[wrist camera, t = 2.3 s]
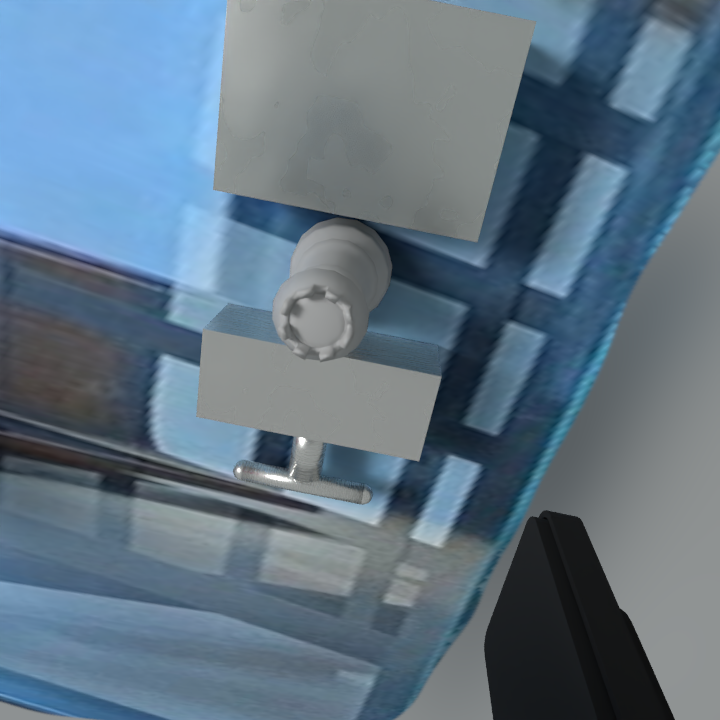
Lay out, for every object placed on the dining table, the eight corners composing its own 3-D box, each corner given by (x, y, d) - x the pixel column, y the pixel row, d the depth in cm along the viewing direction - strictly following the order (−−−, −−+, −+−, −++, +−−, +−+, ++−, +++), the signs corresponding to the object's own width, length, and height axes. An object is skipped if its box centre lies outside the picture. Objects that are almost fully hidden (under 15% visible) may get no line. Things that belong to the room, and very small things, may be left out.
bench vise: (257, -15, 21) (230, -40, 18) (517, 36, 21) (536, 21, 18) (214, 451, 30) (190, 491, 26) (400, 489, 30) (399, 533, 26)
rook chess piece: (273, 270, 26) (219, 330, 18) (336, 193, 24) (304, 225, 17) (348, 332, 26) (325, 413, 19) (413, 262, 25) (415, 321, 18)
